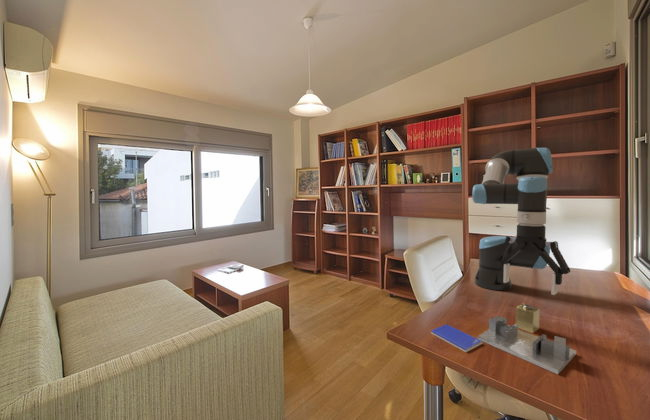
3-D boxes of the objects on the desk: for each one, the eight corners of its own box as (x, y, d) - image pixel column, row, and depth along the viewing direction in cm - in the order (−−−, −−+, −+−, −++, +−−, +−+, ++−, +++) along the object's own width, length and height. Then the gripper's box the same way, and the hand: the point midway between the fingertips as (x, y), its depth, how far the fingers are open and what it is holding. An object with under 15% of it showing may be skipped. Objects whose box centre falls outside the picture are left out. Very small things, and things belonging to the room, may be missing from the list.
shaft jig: (477, 339, 87) (477, 323, 86) (498, 325, 95) (499, 311, 94) (559, 375, 70) (560, 355, 69) (577, 355, 78) (577, 337, 77)
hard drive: (482, 340, 84) (447, 323, 95) (465, 348, 80) (431, 330, 91) (482, 345, 84) (447, 328, 95) (465, 354, 80) (431, 334, 91)
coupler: (515, 327, 93) (516, 305, 93) (521, 322, 96) (522, 301, 95) (532, 333, 89) (533, 310, 89) (539, 328, 92) (539, 306, 91)
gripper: (485, 222, 98) (484, 279, 100) (577, 230, 77) (574, 302, 79) (495, 220, 102) (494, 275, 104) (585, 227, 81) (582, 296, 83)
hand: (528, 287), depth 91 cm, fingers open, 13 cm apart
